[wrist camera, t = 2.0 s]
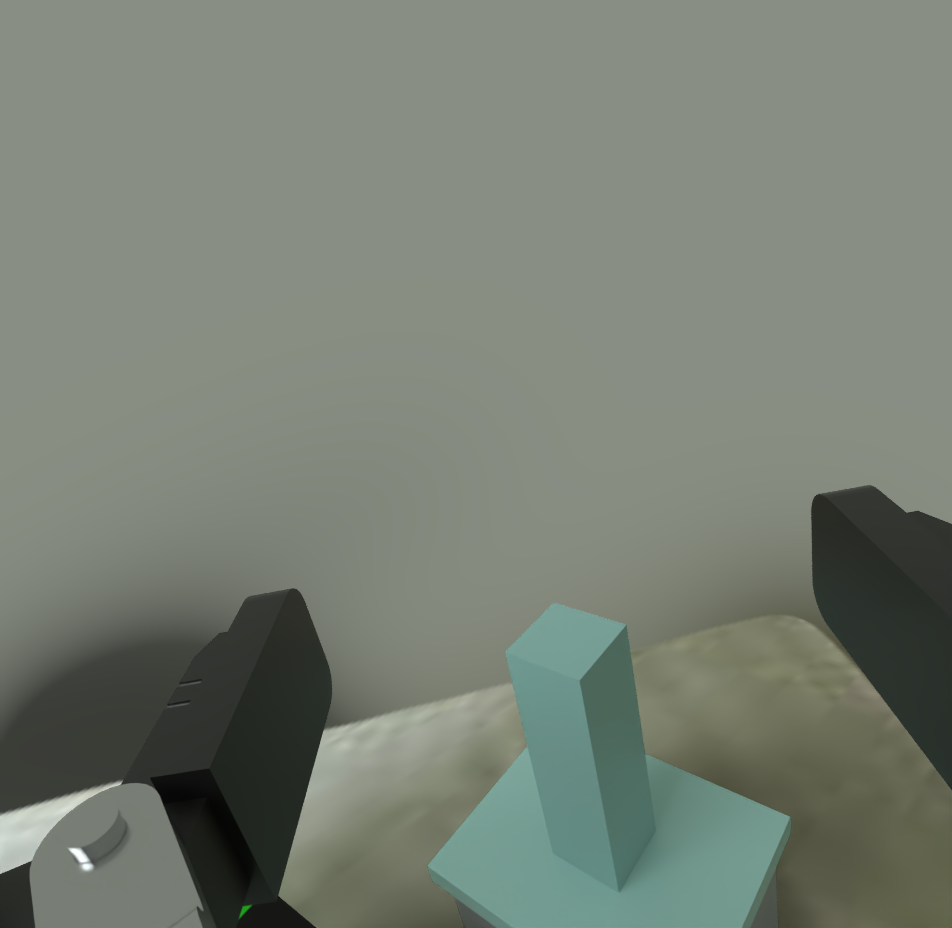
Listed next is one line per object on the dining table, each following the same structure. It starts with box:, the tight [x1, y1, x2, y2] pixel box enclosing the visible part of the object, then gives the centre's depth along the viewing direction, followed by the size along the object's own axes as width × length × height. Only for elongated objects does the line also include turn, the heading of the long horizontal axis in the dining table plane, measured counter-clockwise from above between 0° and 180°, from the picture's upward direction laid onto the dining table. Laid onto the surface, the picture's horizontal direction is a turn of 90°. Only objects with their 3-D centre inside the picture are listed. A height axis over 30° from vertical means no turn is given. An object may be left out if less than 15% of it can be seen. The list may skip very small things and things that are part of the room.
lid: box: [427, 603, 791, 928], centre depth 27 cm, size 12×10×12 cm
